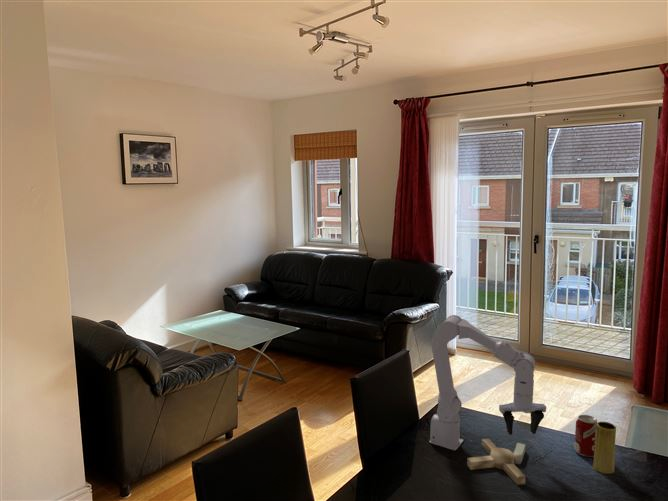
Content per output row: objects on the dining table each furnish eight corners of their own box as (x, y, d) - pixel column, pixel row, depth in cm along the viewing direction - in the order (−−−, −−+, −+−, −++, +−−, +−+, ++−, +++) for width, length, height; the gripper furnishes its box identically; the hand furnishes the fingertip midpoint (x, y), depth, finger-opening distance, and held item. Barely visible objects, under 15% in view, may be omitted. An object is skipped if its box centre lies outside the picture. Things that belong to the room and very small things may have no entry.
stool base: (486, 488, 145) (486, 477, 144) (454, 449, 166) (454, 439, 166) (532, 483, 147) (532, 472, 147) (494, 444, 169) (494, 435, 169)
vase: (617, 475, 151) (620, 431, 149) (595, 473, 152) (598, 429, 150) (610, 464, 157) (613, 421, 155) (589, 462, 158) (592, 419, 156)
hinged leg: (520, 465, 157) (520, 457, 156) (512, 463, 158) (512, 455, 158) (525, 451, 165) (525, 444, 164) (517, 449, 166) (517, 442, 166)
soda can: (574, 456, 162) (577, 421, 160) (573, 446, 168) (575, 412, 167) (598, 460, 159) (600, 425, 158) (595, 450, 166) (598, 415, 164)
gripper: (506, 398, 153) (504, 439, 154) (551, 397, 153) (549, 438, 155) (497, 389, 160) (495, 428, 161) (541, 388, 160) (538, 427, 162)
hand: (521, 432), depth 159 cm, fingers open, 7 cm apart
